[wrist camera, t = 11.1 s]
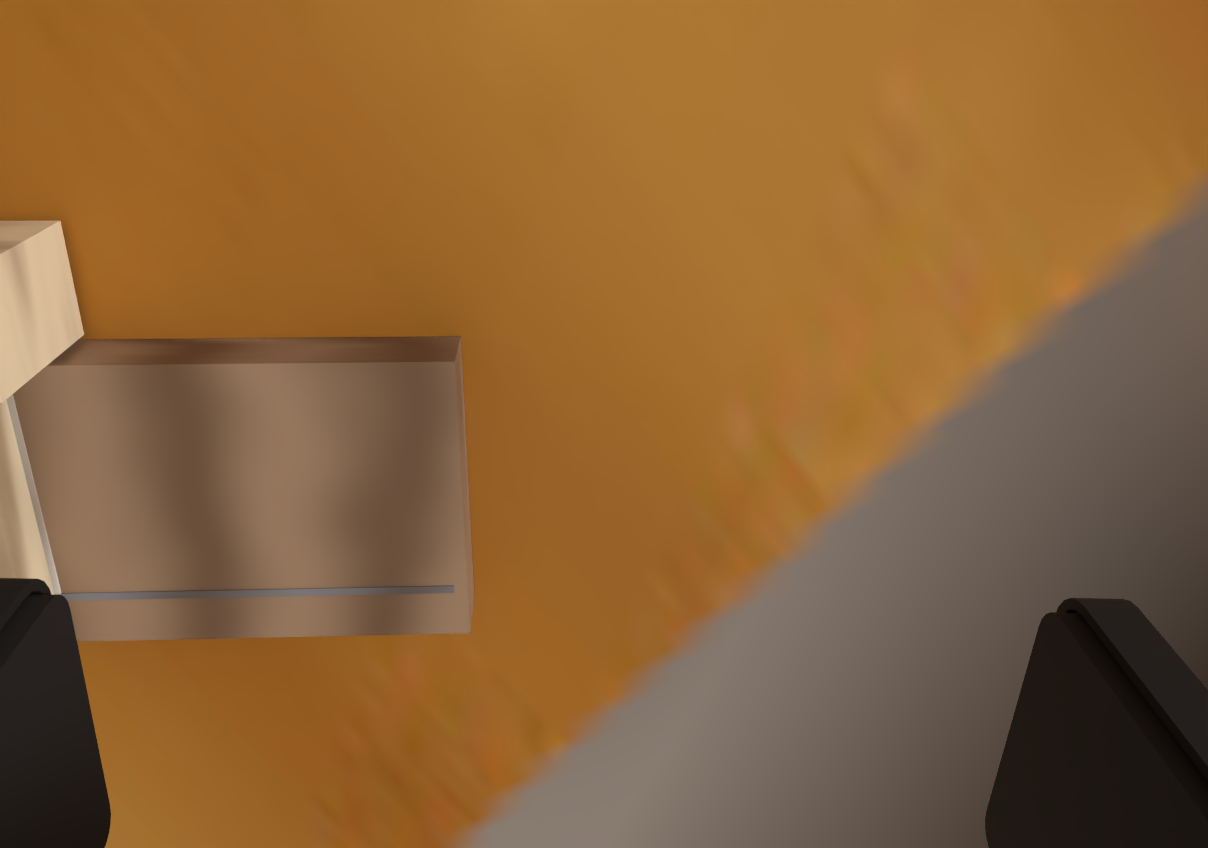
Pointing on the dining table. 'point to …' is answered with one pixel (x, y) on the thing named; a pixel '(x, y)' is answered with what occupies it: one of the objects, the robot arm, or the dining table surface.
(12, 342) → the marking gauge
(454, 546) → the walnut board
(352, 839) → the dining table surface
